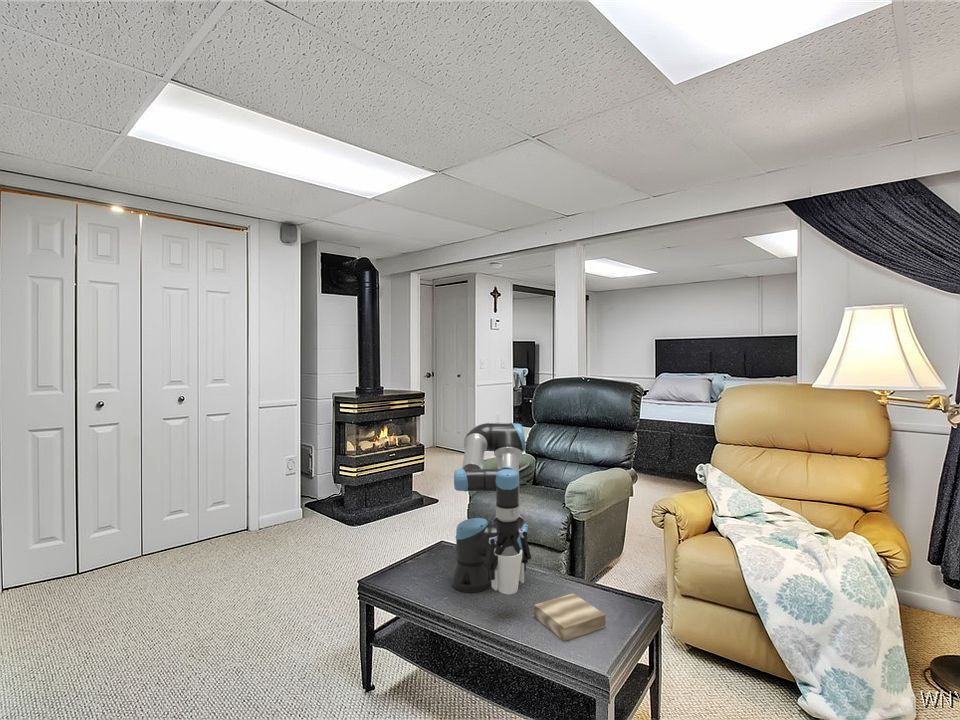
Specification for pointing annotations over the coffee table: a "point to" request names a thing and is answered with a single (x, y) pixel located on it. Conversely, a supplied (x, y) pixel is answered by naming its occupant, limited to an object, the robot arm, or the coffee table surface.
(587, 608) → the wooden base
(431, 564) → the coffee table surface
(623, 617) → the coffee table surface
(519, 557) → the foam cup
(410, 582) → the coffee table surface
